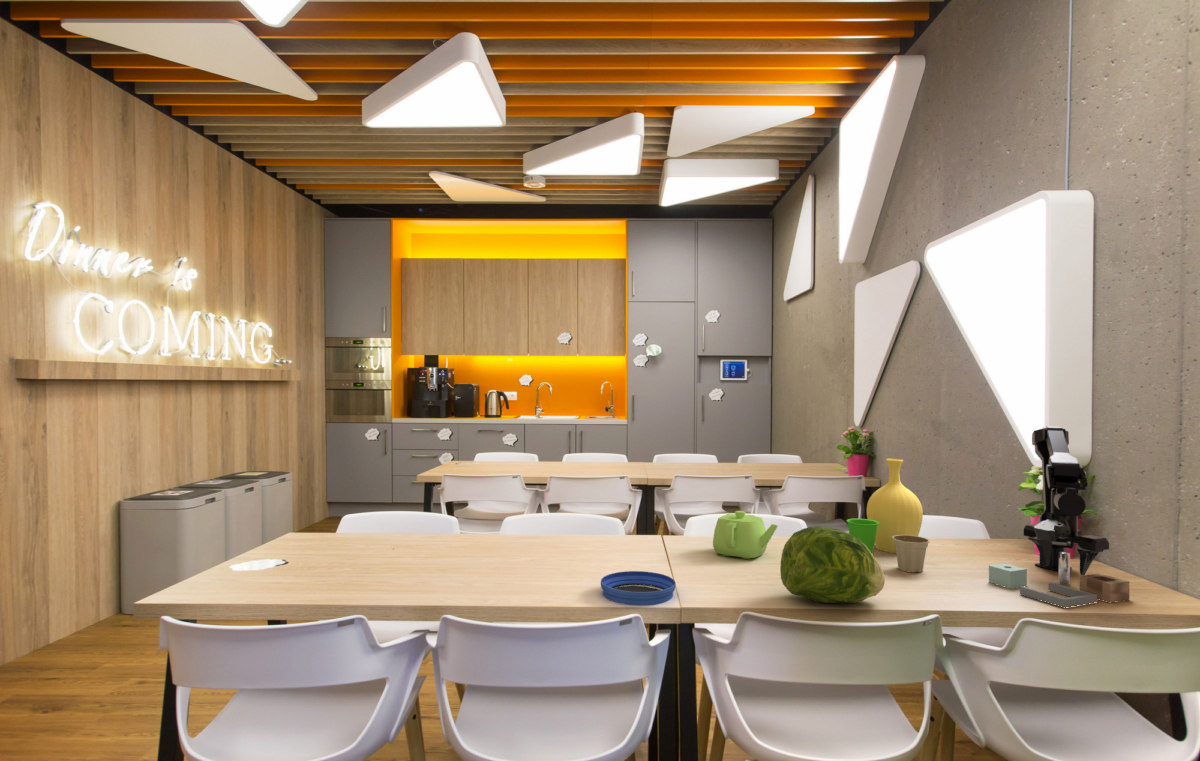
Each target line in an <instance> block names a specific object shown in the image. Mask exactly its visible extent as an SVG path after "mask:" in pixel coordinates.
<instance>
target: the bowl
mask: <svg viewBox="0 0 1200 761" xmlns="http://www.w3.org/2000/svg"><path fill="white" fill-rule="evenodd" d="M676 585H677V584H676V581H675V579H674V578H672V577H671V576H669V575H666V574H662V573H658V572H652V571H645V570H643V571H642V570H627V571H626V570H625V571H618V572H611V573H609V574H606V575H604V576H602V578H601V579H600V588H601V590H602V596H603V597H604V598H605V599H607V600H609V601H611V602H614V603H617V604H620V605H621V604H622V605H628V606H653V605H658V604H664V603H666V602H668V601H669V600H672V598H673V596H674V592H675V590H676Z"/></svg>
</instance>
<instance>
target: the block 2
mask: <svg viewBox="0 0 1200 761" xmlns="http://www.w3.org/2000/svg"><path fill="white" fill-rule="evenodd" d="M1079 590H1081V591H1085V592H1088V593H1092V594H1096V595H1097V599H1100V600H1104V601H1107V602H1115V601H1121V602H1124V601H1123V600H1127V601H1130V580H1127V579H1121V578H1117V577H1114V576H1111V575H1105V574H1101V573H1094V574H1092V573H1091V574H1087V575H1086V574H1085V575H1080V576H1079ZM1100 600H1099V601H1100ZM1104 601H1103V602H1104ZM1107 602H1106V603H1107ZM1115 603H1116V602H1115Z"/></svg>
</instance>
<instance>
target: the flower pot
mask: <svg viewBox="0 0 1200 761" xmlns="http://www.w3.org/2000/svg"><path fill="white" fill-rule="evenodd" d="M892 539H893V540H894V544H895V547H896V553H895V554H896V562H897V568H898V570H901V571H903V572H908V573H916V572H917V573H921V572H923V571H924V564H925V558H926V554H927V553H926V552H927V548H928V546H929V543H930V539H928V538H926V537H922V536H919V535H918V536H911V535H896V536H893V537H892Z"/></svg>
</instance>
